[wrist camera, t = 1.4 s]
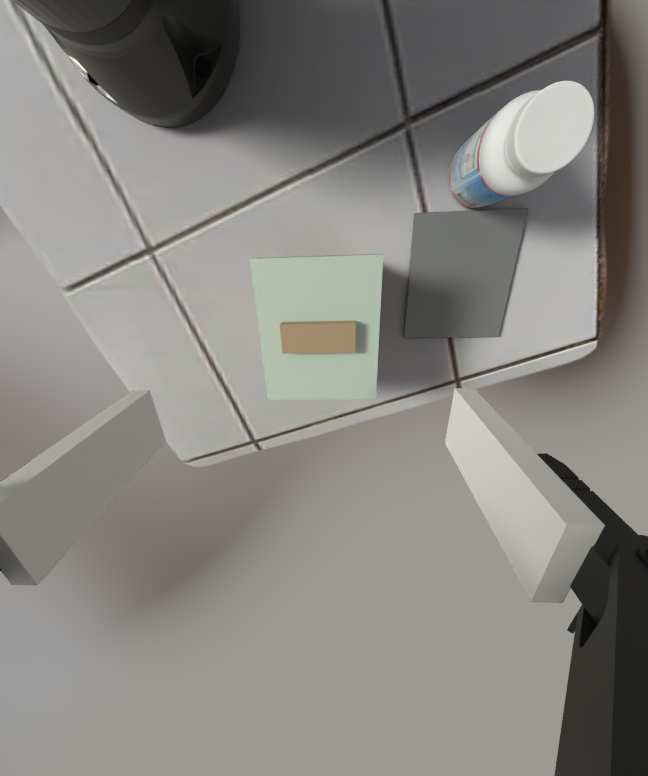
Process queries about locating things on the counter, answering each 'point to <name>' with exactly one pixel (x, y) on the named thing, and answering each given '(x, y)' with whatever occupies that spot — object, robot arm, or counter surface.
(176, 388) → the counter surface
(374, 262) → the lid
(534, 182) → the pill bottle
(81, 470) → the robot arm
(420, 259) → the mat
